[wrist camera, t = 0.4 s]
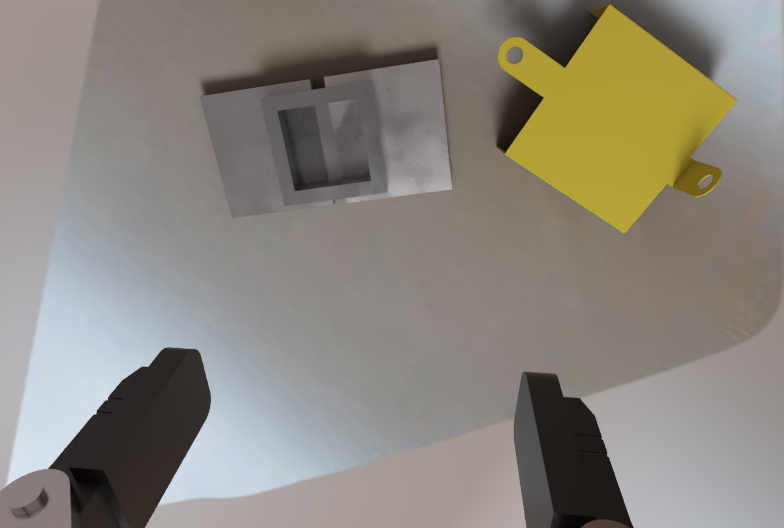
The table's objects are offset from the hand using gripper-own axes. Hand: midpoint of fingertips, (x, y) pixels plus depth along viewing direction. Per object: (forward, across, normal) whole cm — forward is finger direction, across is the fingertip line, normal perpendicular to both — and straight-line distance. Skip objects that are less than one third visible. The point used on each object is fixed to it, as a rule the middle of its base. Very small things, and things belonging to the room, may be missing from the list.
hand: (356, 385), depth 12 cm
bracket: (+29, -11, -1) cm, 31 cm away
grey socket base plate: (+26, +6, +1) cm, 27 cm away
